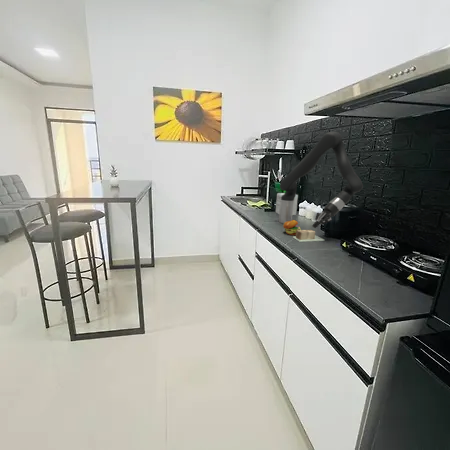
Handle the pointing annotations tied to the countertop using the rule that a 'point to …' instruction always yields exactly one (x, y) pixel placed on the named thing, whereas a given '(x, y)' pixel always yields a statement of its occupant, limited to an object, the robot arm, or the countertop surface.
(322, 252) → the countertop surface
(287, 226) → the cheeseburger
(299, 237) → the beech block
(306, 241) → the sage board
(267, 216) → the countertop surface
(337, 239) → the countertop surface
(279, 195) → the supplement box
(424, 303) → the countertop surface
